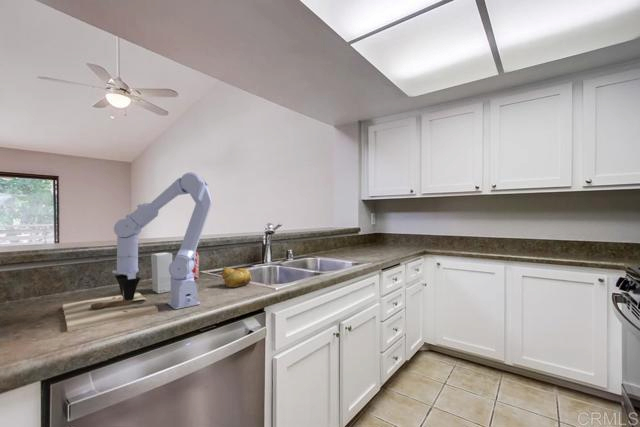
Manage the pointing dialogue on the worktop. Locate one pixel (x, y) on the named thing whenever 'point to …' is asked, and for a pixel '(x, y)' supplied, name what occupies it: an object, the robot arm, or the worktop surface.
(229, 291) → the worktop surface
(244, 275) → the potato
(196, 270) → the soda can
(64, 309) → the dial board
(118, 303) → the lever
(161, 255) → the skincare box
